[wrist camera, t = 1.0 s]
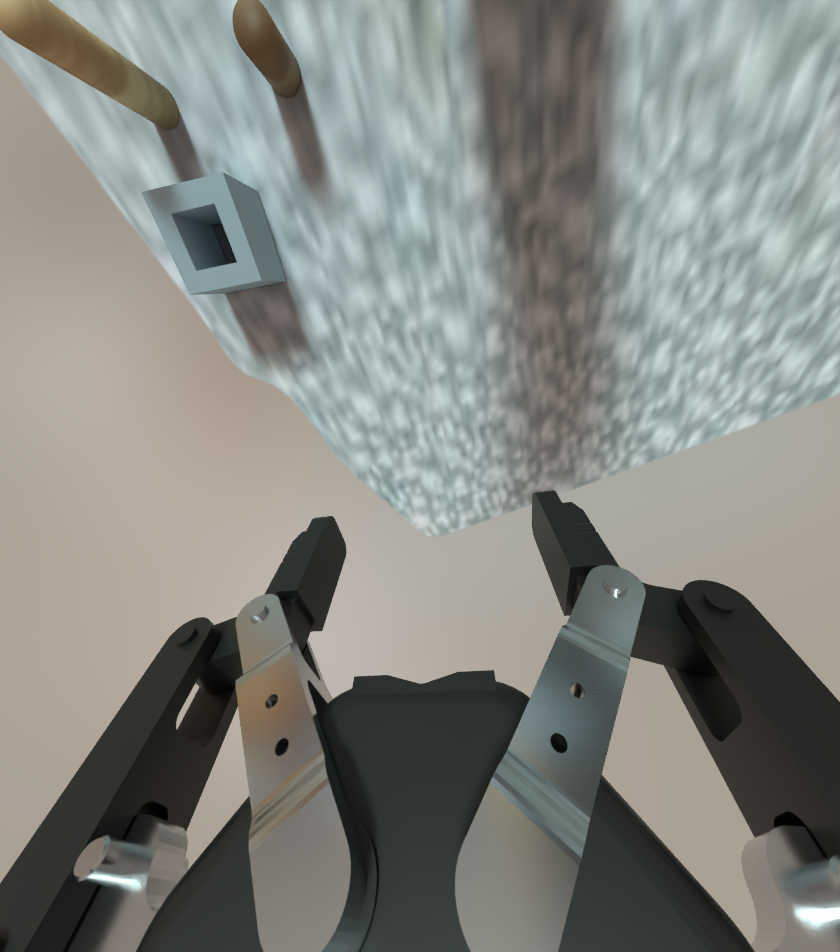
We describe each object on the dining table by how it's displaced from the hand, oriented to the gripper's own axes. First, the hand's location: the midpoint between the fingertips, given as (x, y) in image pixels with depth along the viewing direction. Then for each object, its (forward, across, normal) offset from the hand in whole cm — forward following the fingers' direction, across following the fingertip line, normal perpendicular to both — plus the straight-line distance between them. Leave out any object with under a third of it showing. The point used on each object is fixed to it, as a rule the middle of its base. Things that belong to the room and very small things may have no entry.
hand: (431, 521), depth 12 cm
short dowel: (+25, +8, -22) cm, 34 cm away
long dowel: (+25, +18, -23) cm, 38 cm away
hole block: (+25, +16, -14) cm, 32 cm away
